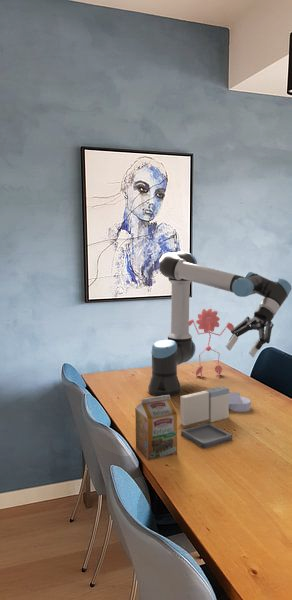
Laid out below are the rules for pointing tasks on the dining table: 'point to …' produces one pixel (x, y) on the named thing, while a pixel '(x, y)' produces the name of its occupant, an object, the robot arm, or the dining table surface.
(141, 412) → the milk carton
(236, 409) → the wedge on round base
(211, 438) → the tray
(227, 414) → the stub
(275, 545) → the dining table surface
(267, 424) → the dining table surface
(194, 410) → the cream square slab
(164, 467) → the dining table surface
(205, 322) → the figurine
